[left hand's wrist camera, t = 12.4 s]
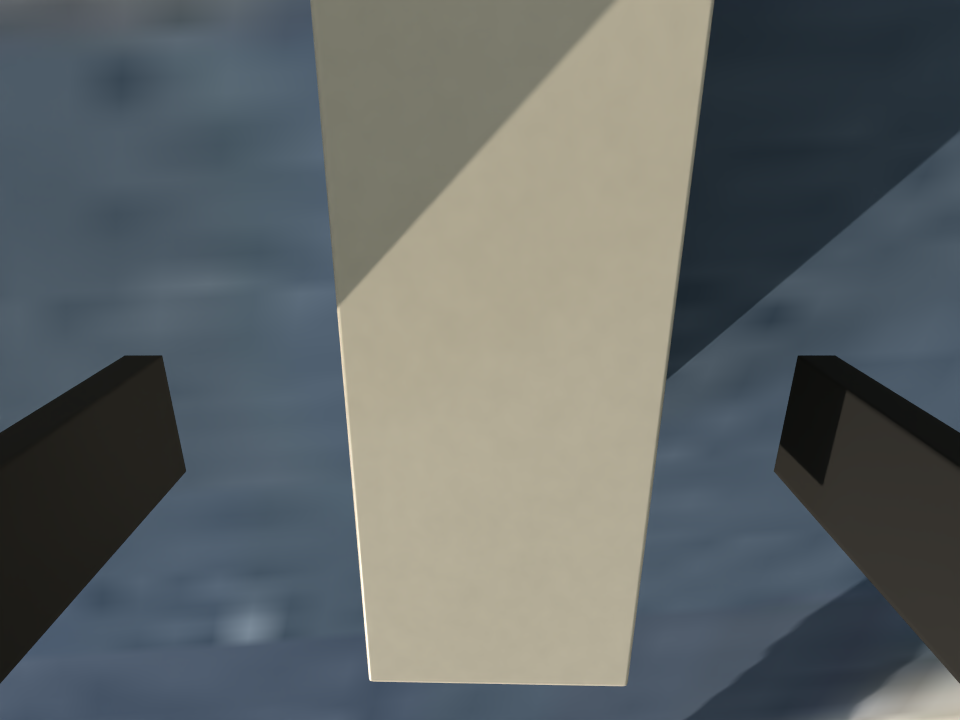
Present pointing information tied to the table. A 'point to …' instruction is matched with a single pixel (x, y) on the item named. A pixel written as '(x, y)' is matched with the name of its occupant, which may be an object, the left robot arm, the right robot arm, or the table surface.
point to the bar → (506, 316)
